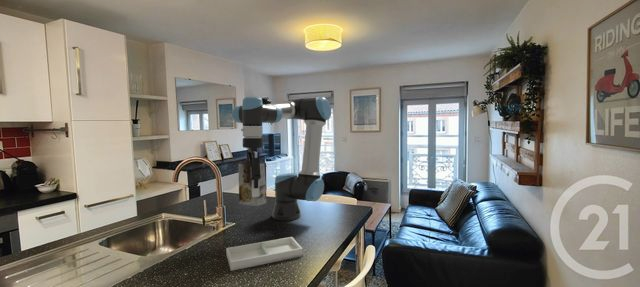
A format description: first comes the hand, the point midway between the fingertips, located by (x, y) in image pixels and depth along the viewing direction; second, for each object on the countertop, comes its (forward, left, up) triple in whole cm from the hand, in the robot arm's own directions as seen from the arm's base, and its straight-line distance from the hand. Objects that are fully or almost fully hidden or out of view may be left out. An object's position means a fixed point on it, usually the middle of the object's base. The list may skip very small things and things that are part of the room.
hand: (252, 193), depth 115 cm
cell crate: (+7, +3, -23) cm, 24 cm away
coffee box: (0, 0, -4) cm, 4 cm away
